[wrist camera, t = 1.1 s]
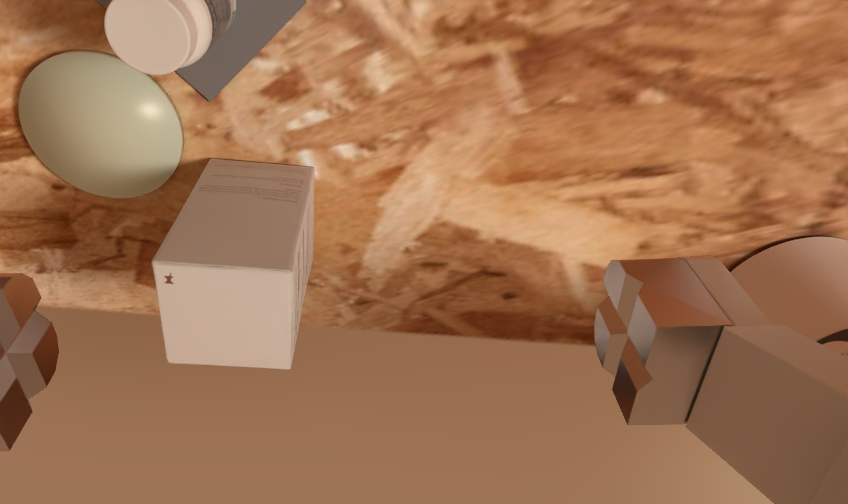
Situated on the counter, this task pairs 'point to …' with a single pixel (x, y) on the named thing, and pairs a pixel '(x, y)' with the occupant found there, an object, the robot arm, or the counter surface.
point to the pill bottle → (165, 31)
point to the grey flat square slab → (237, 42)
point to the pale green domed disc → (101, 124)
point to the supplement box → (237, 266)
